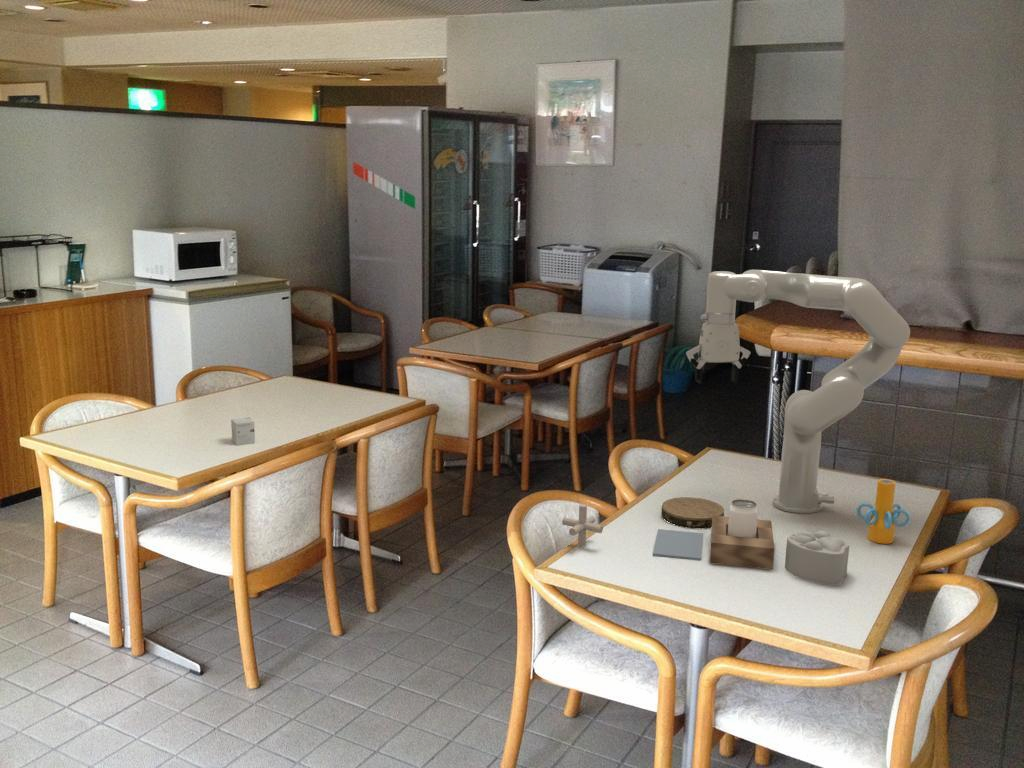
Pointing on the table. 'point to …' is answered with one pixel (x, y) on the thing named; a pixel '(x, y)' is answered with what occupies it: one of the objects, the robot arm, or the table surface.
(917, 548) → the table surface
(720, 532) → the housing block
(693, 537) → the rubber mat
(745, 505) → the can
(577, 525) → the pipe connector
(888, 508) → the cylinder
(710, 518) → the wooden disc
